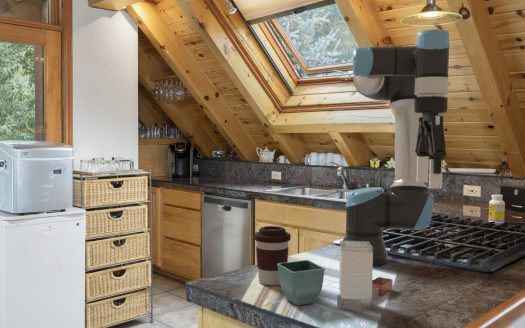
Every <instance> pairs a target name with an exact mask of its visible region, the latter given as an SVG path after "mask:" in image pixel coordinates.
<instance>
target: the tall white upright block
mask: <svg viewBox="0 0 525 328" xmlns="http://www.w3.org/2000/svg"><path fill="white" fill-rule="evenodd" d="M373 270H374V269H373V247H372V245H371V243H370V242H369V241H344V240H339V281H338V282H339V285H338V286H339V287H338V288H339V289H338V290H339V294H340V295H341V298H343V299H372V280H373Z"/></svg>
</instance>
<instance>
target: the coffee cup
mask: <svg viewBox="0 0 525 328" xmlns="http://www.w3.org/2000/svg"><path fill="white" fill-rule="evenodd" d="M291 235H292V234H291V233H290V232H287V231H286V228H285V227H282V226H277V225H275V226H274V225H270V226H269V225H267V226H262V227H260V228H259V230H258V231H257V232H254V235H253V238H254V241H256V246H255V253H256V254H255V255H256V267H257V271H258V272H257V273H258V282H259V283H260V284H262V285H264V286H272V287H273V286H281V285H280V281H279V273H278V265H277V264H278V263H286V262H289V261H288V260H289V259H288V258H289V242H290V241H291V238H292V237H291Z"/></svg>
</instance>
